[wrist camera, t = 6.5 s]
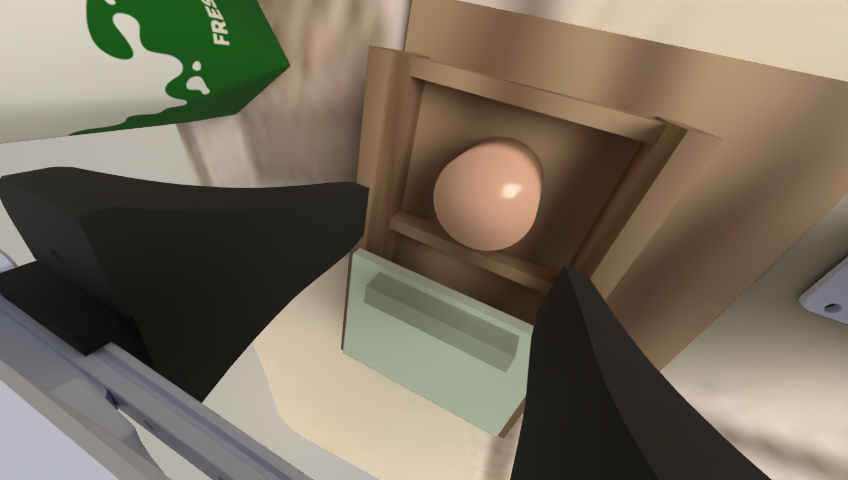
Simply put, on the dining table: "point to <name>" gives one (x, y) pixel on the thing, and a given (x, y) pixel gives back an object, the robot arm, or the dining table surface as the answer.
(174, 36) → the milk carton
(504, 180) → the tan domed cylinder
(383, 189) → the brown wooden tray
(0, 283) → the robot arm
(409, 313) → the lid
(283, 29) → the dining table surface
